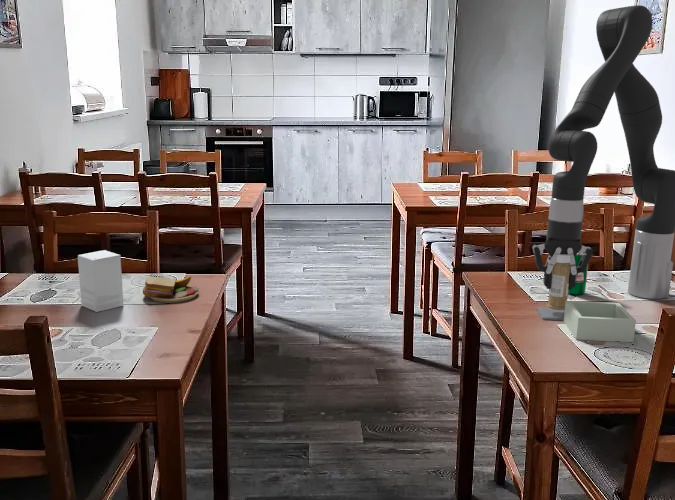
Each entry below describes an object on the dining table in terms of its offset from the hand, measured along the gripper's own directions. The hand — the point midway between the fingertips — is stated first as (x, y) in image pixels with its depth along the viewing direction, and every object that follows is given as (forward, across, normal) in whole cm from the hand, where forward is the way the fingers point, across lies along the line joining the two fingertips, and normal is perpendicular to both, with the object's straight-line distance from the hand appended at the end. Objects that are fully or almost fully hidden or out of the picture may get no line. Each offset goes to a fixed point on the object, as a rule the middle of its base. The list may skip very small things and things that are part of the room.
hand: (558, 288), depth 165 cm
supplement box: (+7, +108, +9) cm, 109 cm away
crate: (+7, -7, +10) cm, 14 cm away
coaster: (+7, 0, 0) cm, 7 cm away
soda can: (+7, -9, -19) cm, 22 cm away
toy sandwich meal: (+7, +94, -1) cm, 95 cm away
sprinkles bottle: (+5, 0, 0) cm, 5 cm away
